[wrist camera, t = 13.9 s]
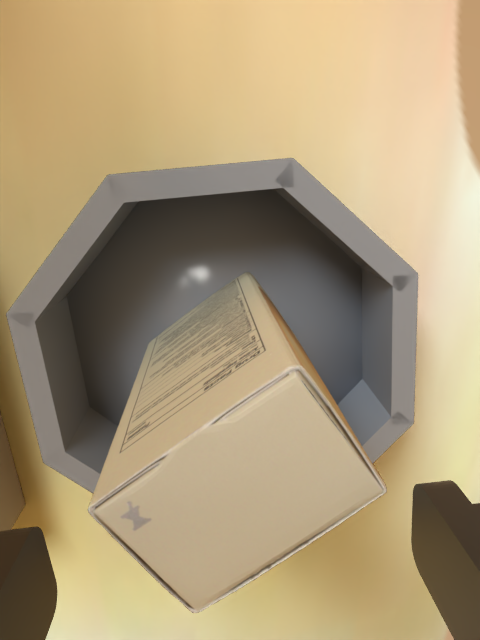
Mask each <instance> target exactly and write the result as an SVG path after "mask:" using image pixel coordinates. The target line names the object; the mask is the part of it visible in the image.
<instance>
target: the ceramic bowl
mask: <svg viewBox="0 0 480 640" xmlns="http://www.w3.org/2000/svg"><path fill="white" fill-rule="evenodd" d="M245 272H249V273H251V274H252V275H253V276H254V277H255V279H256V280H257V281H258V283H259V284H260V285H261V287H262V288H263V290H264V291H265V292H266V294H267V295H268V296H269V298H270V299H271V301H272V302H273V304H274V305H275V306H276V308H277V309H278V311H279V312H280V314H281V315H282V317H283V318H284V320H285V321H286V323H287V324H288V325H289V327H290V328H291V330H292V331H293V333H294V334H295V336H296V338H297V339H298V341H299V342H300V344H301V346H302V347H303V349H304V351H305V352H306V354H307V356H308V357H309V359H310V361H311V362H312V364H313V366H314V367H315V369H316V371H317V373H318V374H319V376H320V377H321V379H322V381H323V382H324V384H325V386H326V387H327V389H328V391H329V392H330V394H331V396H332V397H333V399H334V400H335V402H336V404H337V405H338V407H339V409H340V410H341V412H342V414H343V415H344V417H345V419H346V420H347V422H348V424H349V426H350V427H351V429H352V431H353V432H354V434H355V436H356V437H357V439H358V441H359V442H360V444H361V446H362V447H363V449H364V451H365V452H366V454H367V456H368V457H369V459H370V460H371V462H372V464H373V463H374V462H375V461H376V460H377V459H378V458H379V457H380V456H381V455H382V454H383V453H384V452H385V451H386V450H387V449H388V448H389V447H390V446H391V445H392V444H393V443H394V442H395V441H396V440H397V439H398V438H399V437H400V436H401V435H402V434H403V433H404V432H405V431H406V430H407V429H409V428H410V427H411V426H412V425H413V424H414V401H415V366H416V332H417V297H418V273H417V272H416V271H415V270H414V269H413V268H412V267H411V266H409V265H408V264H407V263H406V262H405V261H404V260H403V259H402V258H401V257H400V256H399V255H398V254H397V253H395V252H394V251H393V250H392V249H391V248H390V247H389V246H388V245H387V244H386V243H385V242H384V241H382V240H381V239H380V238H379V237H378V236H377V235H376V234H375V233H374V232H373V231H372V230H371V229H369V228H368V227H367V226H366V225H365V224H364V223H363V222H362V221H361V220H360V219H359V218H358V217H357V216H355V215H354V214H353V213H352V212H351V211H350V210H349V209H348V208H347V207H346V206H345V205H344V204H342V203H341V202H340V201H339V200H338V199H337V198H336V197H335V196H334V195H333V194H332V193H331V192H329V191H328V190H327V189H326V188H325V187H324V186H323V185H322V184H321V183H320V182H319V181H318V180H317V179H315V178H314V177H313V176H312V175H311V174H310V173H309V172H308V171H307V170H306V169H305V168H304V167H302V166H301V165H300V164H299V163H298V162H297V161H296V160H295V159H294V158H285V159H274V160H263V161H252V162H241V163H230V164H219V165H208V166H197V167H186V168H175V169H164V170H153V171H142V172H131V173H120V174H109V175H107V176H106V178H105V179H104V180H103V182H102V183H101V184H100V186H99V187H98V189H97V190H96V191H95V193H94V194H93V195H92V197H91V198H90V199H89V201H88V202H87V204H86V205H85V206H84V208H83V209H82V210H81V212H80V213H79V215H78V216H77V217H76V219H75V220H74V221H73V223H72V224H71V226H70V227H69V228H68V230H67V231H66V232H65V234H64V235H63V237H62V238H61V239H60V241H59V242H58V243H57V245H56V246H55V248H54V249H53V250H52V252H51V253H50V254H49V256H48V257H47V258H46V260H45V261H44V263H43V264H42V265H41V267H40V268H39V269H38V271H37V272H36V274H35V275H34V276H33V278H32V279H31V280H30V282H29V283H28V285H27V286H26V287H25V289H24V290H23V291H22V293H21V294H20V296H19V297H18V298H17V300H16V301H15V302H14V304H13V305H12V306H11V308H10V309H9V311H8V312H7V313H6V316H7V320H8V324H9V328H10V332H11V336H12V340H13V344H14V348H15V352H16V356H17V360H18V364H19V368H20V372H21V376H22V380H23V384H24V388H25V392H26V396H27V400H28V404H29V408H30V412H31V416H32V420H33V424H34V428H35V432H36V436H37V440H38V444H39V448H40V452H41V456H42V460H43V463H44V464H46V465H48V466H49V467H51V468H52V469H54V470H56V471H57V472H59V473H61V474H62V475H64V476H65V477H67V478H69V479H70V480H72V481H74V482H75V483H77V484H78V485H80V486H82V487H83V488H85V489H87V490H88V491H90V492H91V493H94V490H95V488H96V485H97V482H98V480H99V477H100V474H101V471H102V469H103V466H104V463H105V461H106V458H107V455H108V452H109V449H110V447H111V444H112V441H113V439H114V436H115V433H116V430H117V428H118V426H119V422H120V420H121V417H122V415H123V412H124V409H125V407H126V404H127V401H128V398H129V396H130V393H131V390H132V388H133V385H134V382H135V380H136V377H137V374H138V371H139V369H140V366H141V363H142V361H143V358H144V355H145V352H146V349H147V347H148V344H149V343H150V342H151V341H152V340H153V339H154V338H156V337H157V336H158V335H159V334H161V333H162V332H163V331H164V330H166V329H167V328H168V327H170V326H171V325H172V324H173V323H175V322H176V321H177V320H179V319H180V318H181V317H183V316H184V315H185V314H187V313H188V312H189V311H191V310H192V309H194V308H195V307H196V306H198V305H199V304H200V303H202V302H203V301H204V300H206V299H207V298H209V297H210V296H211V295H213V294H214V293H216V292H217V291H219V290H220V289H221V288H223V287H224V286H226V285H227V284H229V283H230V282H231V281H233V280H234V279H236V278H237V277H239V276H240V275H242V274H243V273H245Z"/></svg>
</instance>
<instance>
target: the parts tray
mask: <svg viewBox="0 0 480 640" xmlns="http://www.w3.org/2000/svg"><path fill="white" fill-rule="evenodd" d="M24 506H25V501H24V497H23V494H22V490H21V486H20V483H19V479H18V475H17V472H16V468H15V464H14V461H13V457H12V453H11V450H10V446H9V442H8V439H7V435H6V431H5V428H4V424H3V420H2V417H1V413H0V531H4V530H11V529H12V527H13V525H14V523H15V522H16V520H17V518H18V517H19V515H20V513H21V511H22V510H23V508H24Z"/></svg>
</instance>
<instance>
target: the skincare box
mask: <svg viewBox="0 0 480 640" xmlns="http://www.w3.org/2000/svg"><path fill="white" fill-rule="evenodd" d="M386 491H387V488H386V485H385V483H384V481H383V479H382V478H381V476H380V475H379V473H378V472H377V470H376V468H375V467H374V465H373V464H372V462H371V460H370V459H369V457H368V456H367V454H366V452H365V451H364V449H363V447H362V446H361V444H360V442H359V441H358V439H357V437H356V436H355V434H354V432H353V431H352V429H351V427H350V426H349V424H348V422H347V420H346V419H345V417H344V415H343V414H342V412H341V410H340V409H339V407H338V405H337V404H336V402H335V400H334V399H333V397H332V396H331V394H330V392H329V391H328V389H327V387H326V386H325V384H324V382H323V381H322V379H321V377H320V376H319V374H318V373H317V371H316V369H315V367H314V366H313V364H312V362H311V361H310V359H309V357H308V356H307V354H306V352H305V351H304V349H303V347H302V346H301V344H300V342H299V341H298V339H297V338H296V336H295V334H294V333H293V331H292V330H291V328H290V327H289V325H288V324H287V323H286V321H285V320H284V318H283V317H282V315H281V314H280V312H279V311H278V309H277V308H276V306H275V305H274V304H273V302H272V301H271V299H270V298H269V296H268V295H267V294H266V292H265V291H264V290H263V288H262V287H261V285H260V284H259V283H258V281H257V280H256V279H255V277H254V276H253V275H252V274H251V273H249V272H245V273H243V274H242V275H240V276H239V277H237V278H236V279H234V280H233V281H231V282H230V283H229V284H227V285H226V286H224V287H223V288H221V289H220V290H219V291H217V292H216V293H214V294H213V295H211V296H210V297H209V298H207V299H206V300H204V301H203V302H202V303H200V304H199V305H198V306H196V307H195V308H194V309H192V310H191V311H189V312H188V313H187V314H185V315H184V316H183V317H181V318H180V319H179V320H177V321H176V322H175V323H173V324H172V325H171V326H170V327H168V328H167V329H166V330H164V331H163V332H162V333H161V334H159V335H158V336H157V337H156V338H154V339H153V340H152V341H151V342H150V343H149V344H148V347H147V349H146V352H145V355H144V358H143V361H142V363H141V366H140V369H139V371H138V374H137V377H136V380H135V382H134V385H133V388H132V390H131V393H130V396H129V398H128V401H127V404H126V407H125V409H124V412H123V415H122V417H121V420H120V422H119V426H118V428H117V430H116V433H115V436H114V439H113V441H112V444H111V447H110V449H109V452H108V455H107V458H106V461H105V463H104V466H103V469H102V471H101V474H100V477H99V480H98V482H97V485H96V488H95V490H94V493H93V496H92V498H91V501H90V504H89V507H88V512H89V514H90V515H91V516H92V517H93V518H94V519H95V520H96V521H97V522H98V523H99V524H100V525H102V526H103V527H104V528H105V529H106V530H107V531H108V533H109V534H110V535H111V536H112V537H113V538H114V539H115V540H116V541H117V542H118V543H119V544H120V545H121V546H122V547H123V548H124V549H125V550H126V551H127V552H128V553H129V554H130V555H131V556H132V557H133V558H134V559H135V560H137V561H138V562H139V564H140V565H141V566H142V567H143V568H144V569H145V570H146V571H147V572H148V573H149V574H150V575H151V576H153V577H154V578H155V579H156V580H157V581H158V582H159V583H160V584H161V585H162V586H163V587H164V588H165V589H166V590H167V591H168V592H169V593H170V594H172V595H173V596H174V597H175V598H177V599H178V600H179V601H180V602H181V603H182V604H183V605H184V606H185V607H186V608H187V609H189V610H190V611H191V612H192V613H198V612H200V611H203V610H204V609H206V608H207V607H209V606H210V605H212V604H214V603H216V602H218V601H220V600H221V599H223V598H225V597H226V596H228V595H229V594H231V593H233V592H235V591H237V590H238V589H239V588H241V587H243V586H245V585H246V584H248V583H249V582H251V581H253V580H255V579H256V578H258V577H259V576H261V575H262V574H264V573H266V572H267V571H269V570H270V569H272V568H273V567H275V566H276V565H278V564H279V563H281V562H283V561H284V560H286V559H288V558H289V557H291V556H292V555H294V554H295V553H297V552H298V551H300V550H301V549H303V548H304V547H306V546H307V545H309V544H310V543H312V542H313V541H315V540H317V539H318V538H320V537H321V536H323V535H324V534H325V533H327V532H329V531H330V530H332V529H333V528H335V527H336V526H338V525H339V524H341V523H342V522H344V521H345V520H346V519H348V518H349V517H351V516H352V515H354V514H356V513H357V512H358V511H360V510H361V509H362V508H364V507H365V506H367V505H368V504H370V503H371V502H373V501H374V500H376V499H377V498H379V497H381V496H382V495H384V494H385V493H386Z"/></svg>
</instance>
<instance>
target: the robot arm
mask: <svg viewBox="0 0 480 640" xmlns="http://www.w3.org/2000/svg"><path fill="white" fill-rule="evenodd" d="M411 542H412V551H413V555H414V559H415V563H416V566H417V568H418V571H419V573H420V575H421V577H422V579H423V581H424V583H425V585H426V586H427V588H428V590H429V592H430V594H431V596H432V598H433V600H434V602H435V604H436V606H437V608H438V609H439V611H440V613H441V615H442V617H443V619H444V621H445V623H446V625H447V627H448V629H449V631H450V632H451V634H452V636H453V638H454V640H480V503H478V504H472V503H471V502H470V501H469V500H468V498H467V497H466V496H465V495H464V493H463V492H462V491H461V490H460V488H459V487H458V486H457V485H456V484H455V483H454V482H453V481H441V482H432V483H423V484H416V485H415V486H414V489H413V508H412V538H411ZM56 603H57V583H56V579H55V575H54V572H53V568H52V564H51V561H50V557H49V553H48V550H47V546H46V542H45V539H44V535H43V532H42V530H41V529H40V528H39V527H30V528H21V529H12V530H4V531H0V640H45V639H46V636H47V634H48V631H49V628H50V625H51V622H52V620H53V617H54V613H55V609H56Z"/></svg>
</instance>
